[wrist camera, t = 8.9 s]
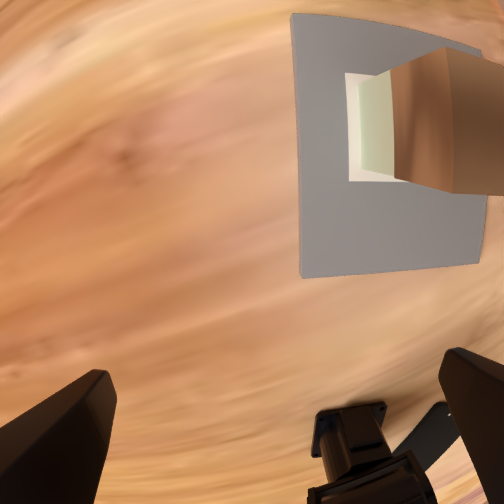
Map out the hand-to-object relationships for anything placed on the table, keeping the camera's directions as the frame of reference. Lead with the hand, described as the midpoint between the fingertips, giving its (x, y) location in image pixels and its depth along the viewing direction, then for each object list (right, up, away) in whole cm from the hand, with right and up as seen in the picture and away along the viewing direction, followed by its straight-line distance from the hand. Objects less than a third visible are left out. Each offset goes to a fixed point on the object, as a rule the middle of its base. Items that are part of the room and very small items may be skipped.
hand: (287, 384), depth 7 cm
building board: (+9, +10, +11) cm, 17 cm away
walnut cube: (+8, +9, +5) cm, 13 cm away
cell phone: (+18, -21, +22) cm, 35 cm away
